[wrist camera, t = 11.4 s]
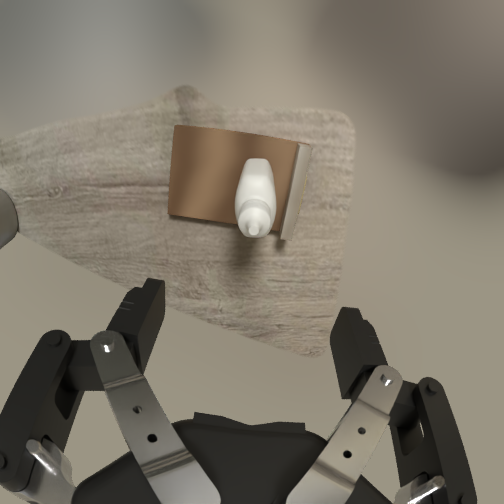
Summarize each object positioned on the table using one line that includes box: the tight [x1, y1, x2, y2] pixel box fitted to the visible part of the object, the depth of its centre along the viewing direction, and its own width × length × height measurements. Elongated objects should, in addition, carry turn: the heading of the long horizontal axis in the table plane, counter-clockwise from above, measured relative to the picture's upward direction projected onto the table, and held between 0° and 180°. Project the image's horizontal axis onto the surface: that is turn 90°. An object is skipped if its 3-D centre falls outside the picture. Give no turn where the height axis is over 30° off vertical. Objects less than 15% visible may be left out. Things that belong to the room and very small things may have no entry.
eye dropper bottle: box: [235, 158, 276, 238], centre depth 26 cm, size 4×6×12 cm
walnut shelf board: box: [168, 125, 312, 241], centre depth 31 cm, size 14×10×3 cm
